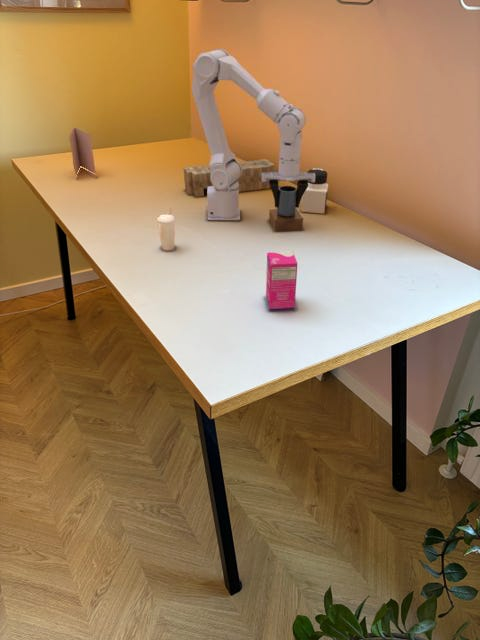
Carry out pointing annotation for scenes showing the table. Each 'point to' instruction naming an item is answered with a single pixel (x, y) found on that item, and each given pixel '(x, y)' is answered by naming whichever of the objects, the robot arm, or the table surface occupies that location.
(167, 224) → the milkshake
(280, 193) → the cup
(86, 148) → the greeting card
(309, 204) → the medicine bottle
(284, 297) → the supplement box
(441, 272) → the table surface
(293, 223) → the block
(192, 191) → the block tower
